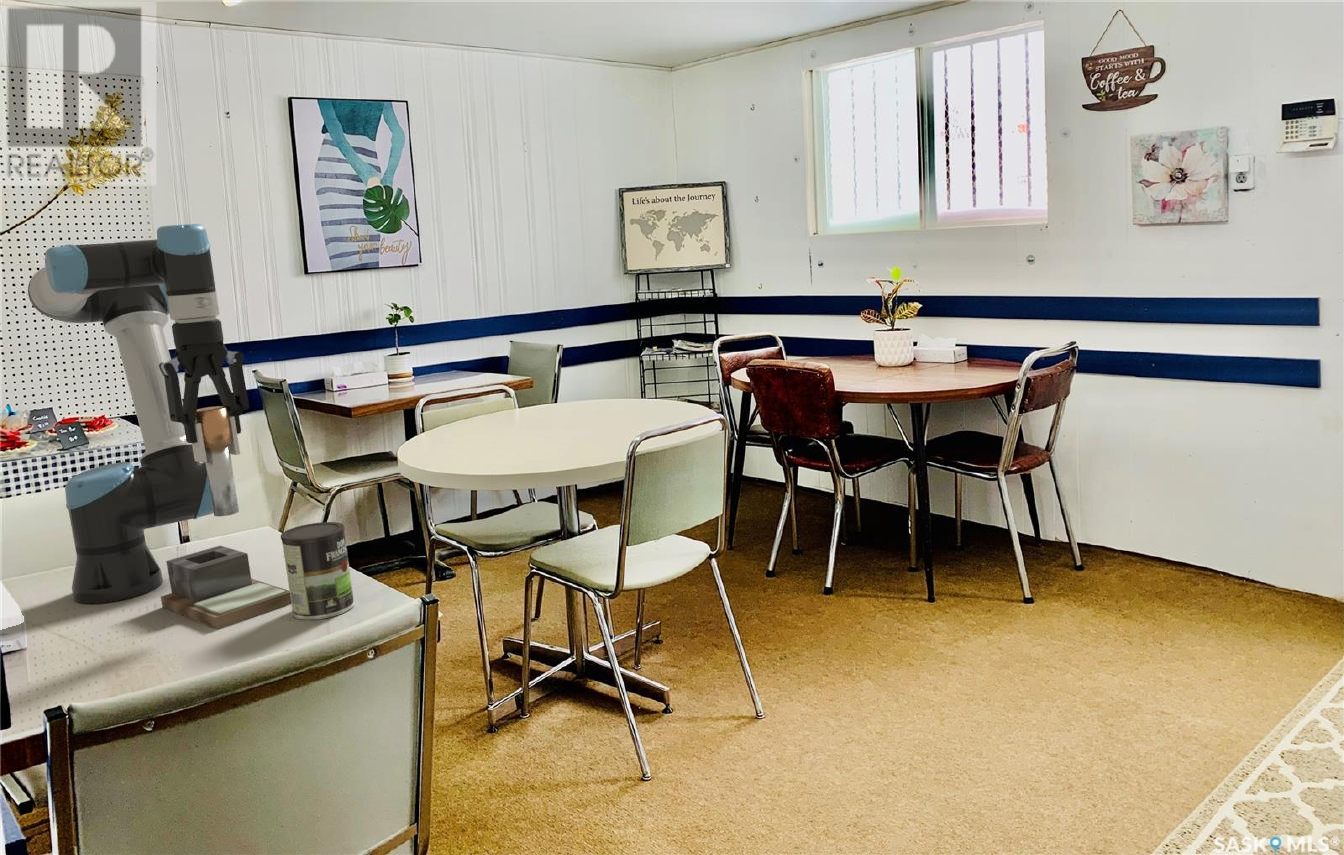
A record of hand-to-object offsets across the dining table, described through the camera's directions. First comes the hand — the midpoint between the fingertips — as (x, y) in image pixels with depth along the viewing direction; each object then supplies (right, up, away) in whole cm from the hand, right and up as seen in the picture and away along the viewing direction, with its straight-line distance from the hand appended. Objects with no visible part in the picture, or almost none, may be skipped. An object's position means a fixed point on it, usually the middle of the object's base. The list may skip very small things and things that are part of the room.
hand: (217, 457), depth 182 cm
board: (-2, -26, +9) cm, 28 cm away
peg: (+1, -10, +2) cm, 10 cm away
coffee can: (+17, -26, +3) cm, 31 cm away
